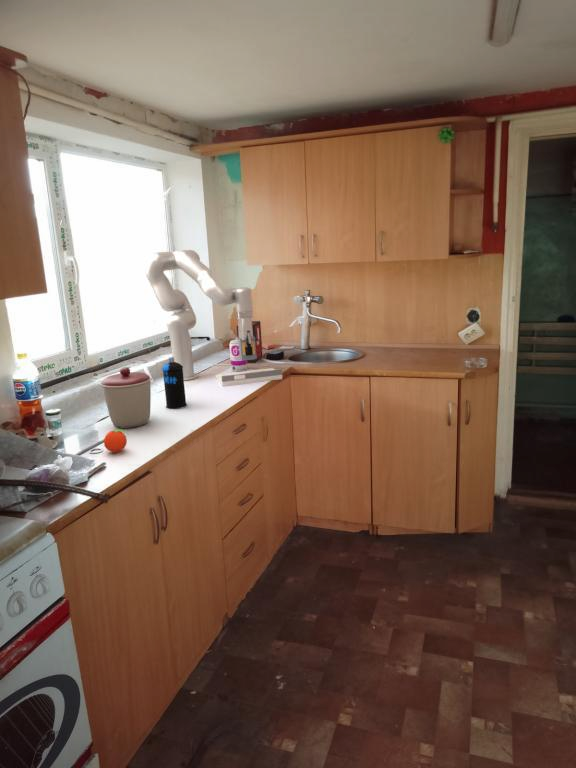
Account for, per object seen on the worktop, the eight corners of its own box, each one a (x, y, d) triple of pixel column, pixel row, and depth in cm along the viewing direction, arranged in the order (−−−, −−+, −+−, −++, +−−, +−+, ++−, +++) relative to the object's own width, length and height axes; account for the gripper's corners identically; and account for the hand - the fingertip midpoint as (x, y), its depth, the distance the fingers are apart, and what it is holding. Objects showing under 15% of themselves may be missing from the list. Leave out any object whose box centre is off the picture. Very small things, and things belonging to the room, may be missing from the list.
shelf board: (222, 386, 255) (221, 376, 254) (216, 378, 270) (215, 369, 269) (282, 379, 262) (282, 369, 261) (273, 371, 277) (272, 362, 276)
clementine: (129, 445, 185) (127, 424, 183) (132, 452, 178) (130, 430, 177) (104, 450, 182) (101, 429, 180) (106, 457, 175) (103, 435, 174)
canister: (95, 427, 205) (87, 370, 200) (133, 413, 220) (127, 360, 214) (129, 434, 195) (121, 375, 190) (167, 420, 210) (161, 364, 205)
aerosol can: (177, 402, 233) (172, 354, 228) (191, 405, 228) (186, 356, 223) (161, 407, 227) (156, 358, 222) (175, 410, 222) (169, 360, 217)
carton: (239, 358, 265) (238, 337, 263) (254, 357, 267) (252, 336, 264) (242, 360, 260) (240, 339, 258) (256, 358, 262) (255, 337, 260)
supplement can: (245, 371, 281) (243, 341, 277) (229, 371, 283) (226, 342, 279) (249, 368, 289) (247, 338, 285) (234, 368, 290) (231, 339, 287)
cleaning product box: (247, 357, 317) (244, 321, 312) (262, 356, 315) (260, 320, 310) (239, 363, 301) (236, 325, 296) (255, 363, 299) (253, 325, 295)
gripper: (232, 313, 266) (236, 352, 270) (240, 317, 250) (244, 358, 254) (248, 312, 268) (251, 350, 272) (257, 316, 252) (260, 356, 256)
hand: (247, 353), depth 263 cm, fingers closed on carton, 4 cm apart
